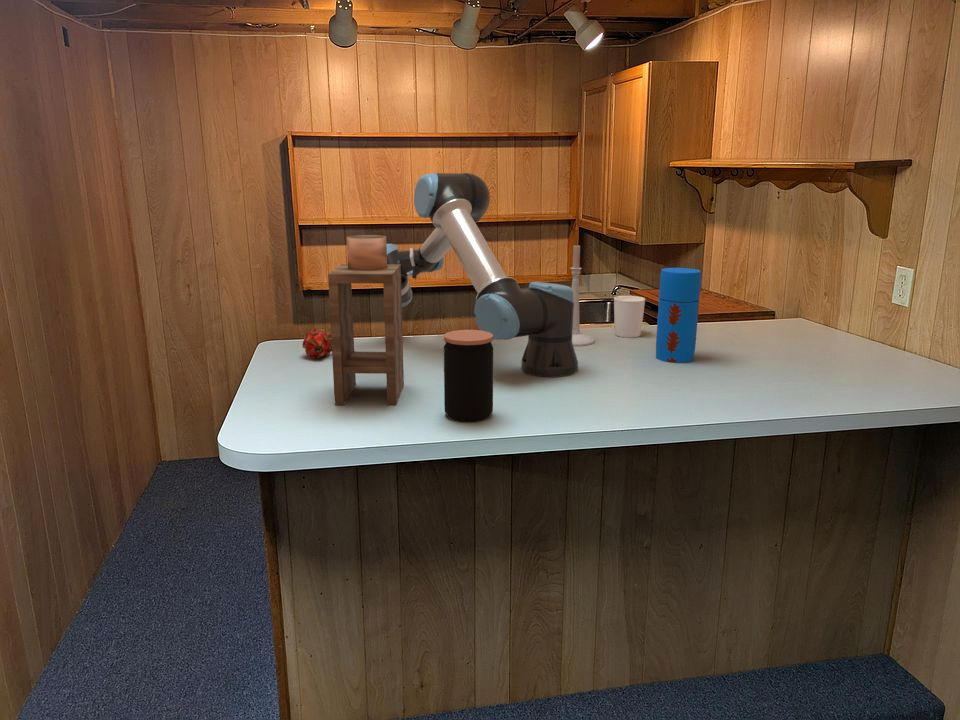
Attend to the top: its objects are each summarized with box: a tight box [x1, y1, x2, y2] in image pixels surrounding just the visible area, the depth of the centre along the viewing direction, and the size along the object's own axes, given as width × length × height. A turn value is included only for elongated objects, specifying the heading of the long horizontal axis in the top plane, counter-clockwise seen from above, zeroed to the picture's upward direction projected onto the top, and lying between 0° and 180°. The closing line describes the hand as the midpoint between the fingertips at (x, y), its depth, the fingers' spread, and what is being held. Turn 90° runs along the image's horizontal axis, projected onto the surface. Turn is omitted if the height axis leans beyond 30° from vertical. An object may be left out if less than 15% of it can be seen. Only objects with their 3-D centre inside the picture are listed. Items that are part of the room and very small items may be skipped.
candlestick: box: [569, 245, 595, 347], centre depth 221 cm, size 13×13×30 cm
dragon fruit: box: [302, 328, 332, 360], centre depth 206 cm, size 8×8×12 cm
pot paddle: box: [346, 234, 388, 270], centre depth 175 cm, size 26×9×7 cm, turn 179°
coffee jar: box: [443, 329, 494, 423], centre depth 156 cm, size 11×11×18 cm
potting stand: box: [327, 263, 405, 406], centre depth 169 cm, size 16×14×30 cm
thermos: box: [655, 267, 702, 364], centre depth 202 cm, size 11×11×25 cm
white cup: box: [613, 295, 646, 339], centre depth 232 cm, size 10×10×12 cm
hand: (386, 252), depth 199 cm, fingers open, 13 cm apart
